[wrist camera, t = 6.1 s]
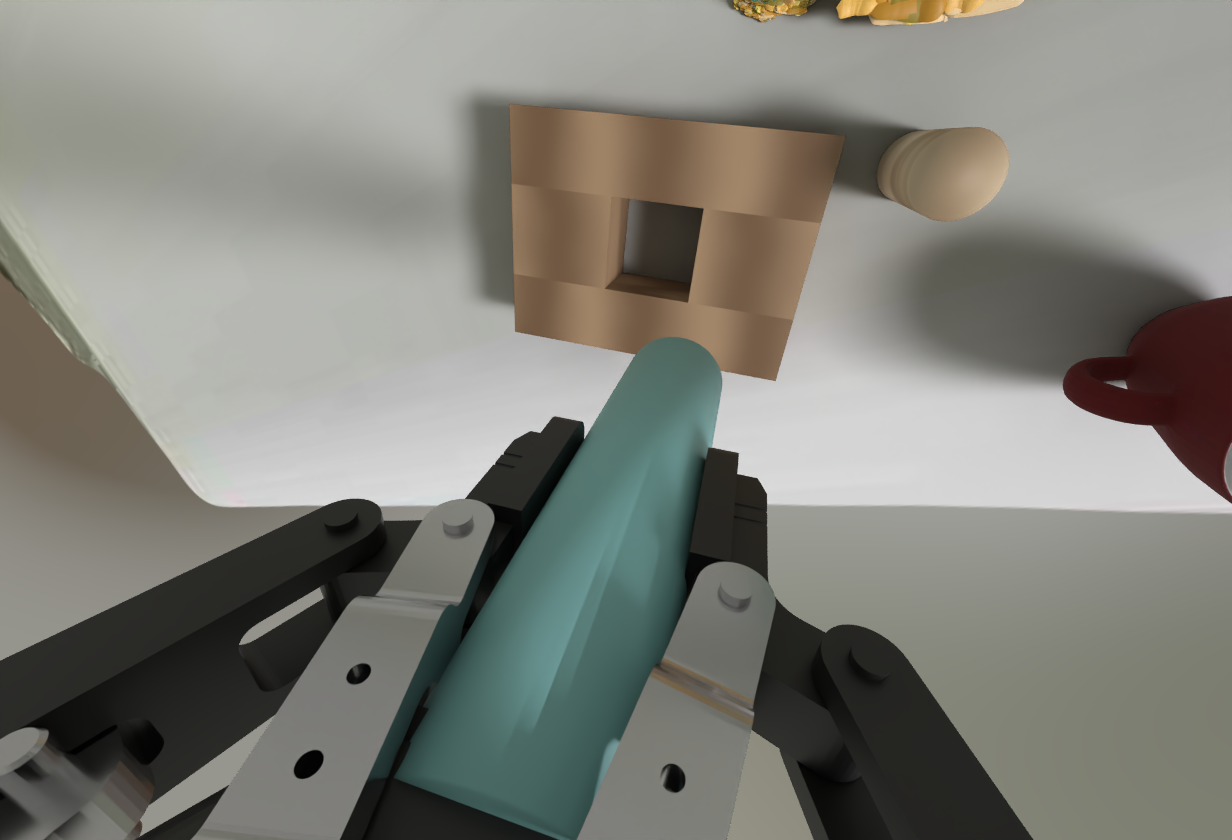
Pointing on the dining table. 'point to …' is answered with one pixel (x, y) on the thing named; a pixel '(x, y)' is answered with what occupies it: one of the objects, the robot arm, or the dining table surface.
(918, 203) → the short pin
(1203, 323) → the mug
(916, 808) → the robot arm
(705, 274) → the hole block
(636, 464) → the long pin
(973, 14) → the teal creature figurine
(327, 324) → the dining table surface
